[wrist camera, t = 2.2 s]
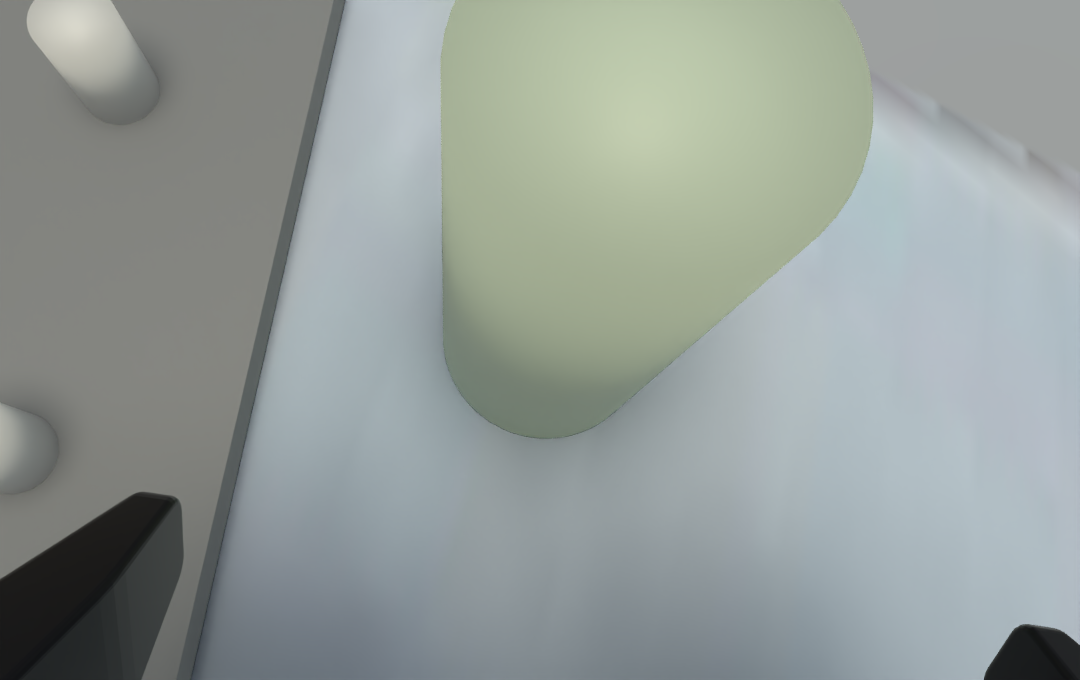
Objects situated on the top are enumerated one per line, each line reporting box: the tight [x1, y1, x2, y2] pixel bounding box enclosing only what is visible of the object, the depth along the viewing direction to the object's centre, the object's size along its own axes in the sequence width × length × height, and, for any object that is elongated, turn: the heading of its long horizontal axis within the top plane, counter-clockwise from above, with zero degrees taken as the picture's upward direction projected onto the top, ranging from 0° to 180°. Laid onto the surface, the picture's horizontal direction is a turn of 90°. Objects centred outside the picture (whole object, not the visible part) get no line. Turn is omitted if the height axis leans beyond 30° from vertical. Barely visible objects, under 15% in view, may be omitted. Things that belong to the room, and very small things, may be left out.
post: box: [441, 0, 873, 438], centre depth 16 cm, size 5×5×12 cm
